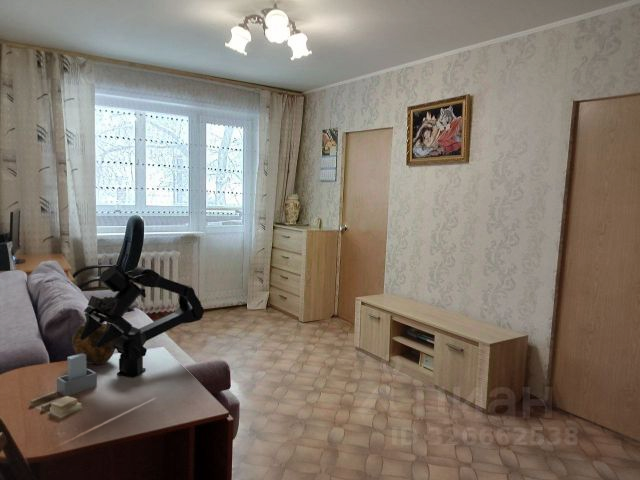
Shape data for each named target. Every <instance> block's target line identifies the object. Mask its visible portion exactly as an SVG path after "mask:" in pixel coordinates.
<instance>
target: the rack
mask: <svg viewBox="0 0 640 480" xmlns="http://www.w3.org/2000/svg"><path fill="white" fill-rule="evenodd" d="M58 394H59V392H57V390H54V391H51V392H49V393H45V394H44V395H41V396H38V397H35V398H34V399H33V398H32V399H30V400H29V404H28V406H29V407H32V408H34V409H37V410H38V411H41V412H43V413H45V414H47V415H49V416H51V417H53V418H56V419H58V420H62V419H64V418H66V417H69V416H70V415H74V414H75V413H77V412H81V411H83V410H85V407H83V406H82V403H81V402H78V398H75V397H73V396H70V395H68V396H67V395H66V396H64V395H63V396H61V397H59V395H58Z"/></svg>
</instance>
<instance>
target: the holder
mask: <svg viewBox="0 0 640 480" xmlns="http://www.w3.org/2000/svg"><path fill="white" fill-rule="evenodd" d="M97 377H98V373H97V372H95V371H93V370H91V369H90V368H86V376H83V377H80V378H77V379H73V380H70V381H68V374H65V375H62V376H59V377H56V391H57V392H58V394H61V395H62V396H63V397H64V396H66V395H67V396H71V395H75V394H77V393H80V392H83V391H86V390H89V389H92V388H96V387H97V386H98V378H97Z"/></svg>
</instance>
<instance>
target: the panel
mask: <svg viewBox="0 0 640 480" xmlns="http://www.w3.org/2000/svg"><path fill="white" fill-rule="evenodd" d="M66 364H67V365H66V366H67V369H66V370H67V375H68V381H70V380H73V379H77V378H80V377H83V376H86V369H87V362H86V354H84V353H81V354H75V355H70V356H67V360H66Z"/></svg>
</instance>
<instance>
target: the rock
mask: <svg viewBox="0 0 640 480" xmlns="http://www.w3.org/2000/svg"><path fill="white" fill-rule="evenodd" d="M85 324H86V322H83V323H81V324H80V325H79V327H77V329H76V330H75V332H74V334H73V336H72V338H71V343H72V346H73V351H74V352H75V355H77V354H81V353H84V354H86V363H89V364H97V365H102V364H105V363H107V362H108V361H110V360H111V358H112V357H113V355H114V352H115V351H116V349H115V348H114V347H113V344H112V342H113V340H112V341H110V342H108V343H106V344H104V345H103V346H101V347H99V348H98V347H96V344H97V342H98V340H99V339H100V338H101V336H102V335H103V333H104V332H105V330H106V324H107V323H105V322H103V323H100V324H102V326H101V327H99V328H98V329H97V330H95V331H94V332H93V333H92V334H90V335H89V336H88V337H87V338H85V339H84V340H81V339H80V336H81V334H82V331H83V329H84V326H85Z"/></svg>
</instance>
